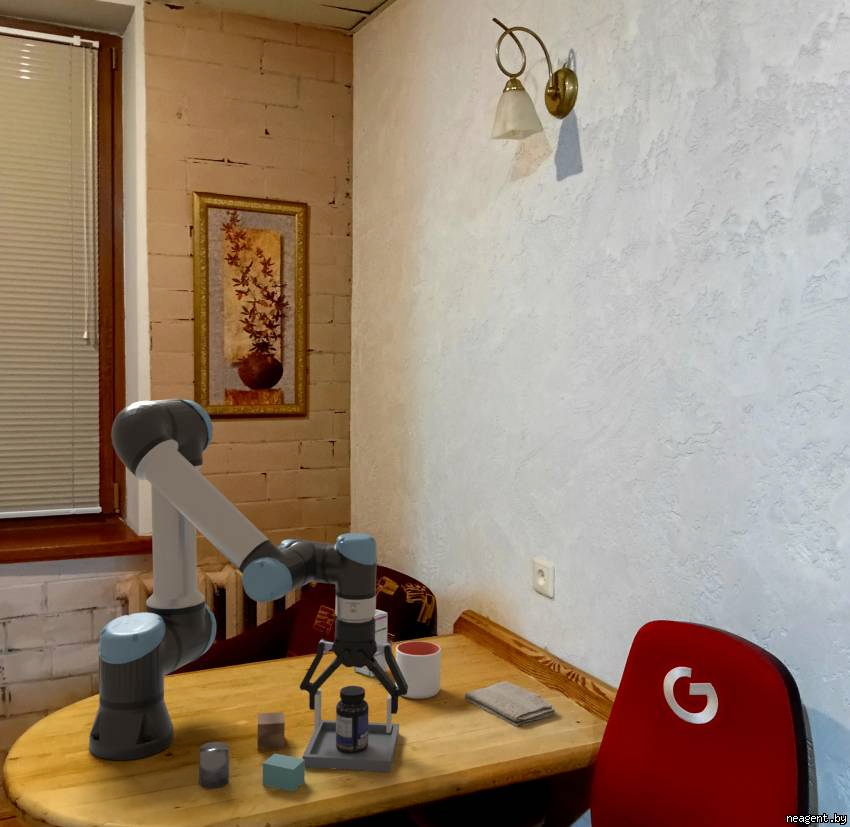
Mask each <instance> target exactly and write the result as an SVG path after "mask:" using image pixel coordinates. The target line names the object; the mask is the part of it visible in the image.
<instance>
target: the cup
mask: <svg viewBox="0 0 850 827" xmlns="http://www.w3.org/2000/svg"><path fill="white" fill-rule="evenodd" d="M441 654H442V648H441V646H439V645H438V644H436V643H433V642H429V641H422V640H421V641H419V640H418V641H417V640H413V641H405V642H401V643H399V644H398V645H397V646H396V647H395V660H396V662H397V664H398V666H399V668H400V670H401V672H402V674H403V677H404V679H405V681H406V683H407V685H408V691H407V694H406V695H401V696H402V697H405V698H408V699H414V700H425V699H428V698H432V697H434V696H436V695H438V693H439V692H440V688H441V665H442V664H441V659H442V655H441ZM394 684H395V685H396V686H397V684H396V682H395V681H394ZM397 687H398V686H397ZM424 698H425V699H424Z"/></svg>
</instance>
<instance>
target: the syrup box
mask: <svg viewBox="0 0 850 827" xmlns="http://www.w3.org/2000/svg"><path fill="white" fill-rule="evenodd" d="M374 619H375V641H376V644H377V645H378V644H386V643H387V642H388V612H386V611H384V610H380V609H376V614H375V616H374ZM374 658H375V659H376V660H377V663H378V664H379V665H380V667H381V668H382V669H383V670H384V671H385V673H387V672H388V671H387V670H388V665H387V663H386V660H385V656H382V655H381V653H380V652H379V651H377V652H376V653H375V655H374ZM354 672H355V673H358V674H360V675H363V676H365V677H368V678H373V676H374V677H375V675H374V674H373V673H372V672H371V671H369V669H368V668H367V667H366V666H364V667H362V668H357V667H354Z"/></svg>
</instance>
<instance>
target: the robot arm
mask: <svg viewBox="0 0 850 827" xmlns="http://www.w3.org/2000/svg"><path fill="white" fill-rule="evenodd" d="M213 436H214V427H213V422H212V420H211V417H210V415H209V414H208V412H207V410H205V409H204V408H203V407H202V405H201V404H199V403H197V402H195V401H193V400H189V399H180V398H179V399H178V398H171V399H158V400H140V401H135V402H133V403H130V404H129V405H126V406H125V407H124V408H123V409H122V410H120V412H119V413H118V414H117V416H116V417H115V418H114V421H113V424H112V428H111V443H112V446H113V449H114V451H115V453H116V455H117V457H118V459H119V460H120V461H121V462H122V463H123V465H124V466H125V467H126V469H128V471H129V472H130V473H131V474H132V475H134V477H136V478H137V479H138V480H139V481H148V482H149V483H150V486H151V488H150V489H151V490H150V491H151V529H152V530H151V533H152V534H151V536H152V538H151V539H152V543H151V544H152V578H153V580H152V581H153V582H152V583H153V587H152V588H153V593H152V594H151V595H150V596H149V597H148V598H147V599H146V601H145V612H133V613H131V614H124V615H121V616H119V617H115V618H114V619H112V620H110V621H109V622H107V623H106V624H105V625H104V627H102V629H101V631H100V634H99V644H98V647H97V648H98V650H97V653H98V681H99V682H98V684H99V685H98V690H99V691H98V692H99V693H98V698H99V699H98V700H99V701H98V704H99V706H98V709H97V712H96V714H95V718H94V720H93V724H92V727H91V729H90V732H89V738H88V740H89V743H88V746H89V748H88V749H89V751H90V752H91V754H92V755H94V756H96V757H98V758H101V759H105V760H111V761H129V760H137V759H141V758H146V757H149V756H150V757H151V756H152V755H156V754H158V753H161V752H162V751H164V750H165V749H167V748H168V747H169V746H170V745H171V744H172V743H173V741H174V724H173V721H172V718H171V716H170V713H169V710H168V706H167V704H166V702H165V676H167V675H168V674H170V673H172V672H174V671H176V670H178V669H180V668H181V667H183V666H185V665H187V664H191V663H193V662H194V661H196V660H198V659H199V658H200V657H201V656H203V655H204V654H205V653H206V652H207V651H209V649H210V648H211V647H212V645H213V643H214V641H215V638H216V635H217V621H216V618H215V615H214V613H213V612H212V611H211V608H210V607H209V606H208V605H207V604H206V596H205V595H204V594H203V593H202V592H201V591H199V589H198V572H197V571H198V565H197V563H198V560H197V559H198V558H197V551H198V550H197V548H198V547H197V530H198V531H199V532H200V533H201V535H203V536H204V538H206V539H207V540H208V541H209V543H211V544H212V545H213V546H214V548H216V549H217V550H218V551H219V552H220V553H221V554H222V555H223V556H224V557H225V559H227V560H228V562H230V563H231V564H232V565H233V566H234V567H235V568H236V569H237V570H238V571H239V572H240V573H241V574H242V575H241V582H242V586H243V588H244V592H245V593H246V595H247V596H248V597H249V598H250V599H251V600H253V601H255V602H258V603H268V602H272V601H275V600H279V599H281V598H283V597H284V596H286V595H288V594H289V593H291V592H292V591H294V590H297V589H299V588H300V587H303V586H305V585H308V584H309V583H313V582H314V583H323V584H329V585H330V584H331V585H332V584H333V585H335V609H334V610H335V612H334V613H335V616H336V618H335V620H334V624H335V625H334V641H333V642H331V641H327V640H326V639H324V638H321V639H320V641H319V642H318V644H317V650H316V655H315V656H314V658H313V660H312V661H311V664H310V666H309V667H308V670H307V671H306V673H305V674H304V675H305V676H304V678H303V679H302V681H301V683H300V684H299V690H300V691H305V692H308V694H309V695H308V697H309V698H308V703H309V705H308V708H309V710H311V711H312V710H313V711H314V722H313V723H314V724H313V725H314V726H313V728H314V730H315V729H319V726H320V724H321V720H322V691H323V690H322V689H320V688H321V687H322V686H323V685H324V683H325V682H326V681H327V680H328V679H329V678H330V677H331V676H332V674H334V673H335V671H336V670H337V669H338V668H340V666H341V665H343V666H345V668H353V667H357V668H362V667H364V666H366V667H367V668H368V669H369V671H371V672H372V673H373V674H374V675H375V676H374V677H375V678H376V680H377V681H378V682H379V683H380V685H382V687H383V688H384V689H385V690H386V692H387V693H388V694H387V697H386V723H387V726H386V733H390V732H391V728H392V724H393V715H394V714H395V715H397V713H398V710H399V697H400V696H402V695H406V694H407V691H408V685H407V683H406V681H405V679H404V677H403V674H402V672H401V670H400V668H399V666H398V664H397V662H396V657H395V656H394V654H393V646H392V645H393V644H392V642H391V641H387V643H386V644H378V645H377V644H376V641H375V619H374V616H375V614H376V610H377V609H376V608H377V607H376V606H377V571H378V570H377V569H378V568H377V567H378V565H377V563H378V556H377V540H376V539H375V537H374V536H372V535H371V534H368V533H362V532H361V533H360V532H355V533H354V532H349V533H348V532H347V533H343V534H340V535H338V536H337V538H336V543H333V542H332V543H331V542H322V541H315V540H306V539H303V538H302V539H301V538H296V539H292V538H291V539H290V538H289V539H288V538H287V539H284V540H282V541H281V542H280V544H279V546H276V545H275V544H274V543H273V542H272V540H270V539H269V538H267V536H266V535H265V534H264V533H263V532H262V531H261V530H260V529H258V528H257V527H256V525H255V524H253V522H252V521H250V519H248V518H247V517H246V516H245V514H243V513H242V512H241V511H240V510H239V509H238V508H237V507H236V506H235V505H234V504H233V503H232V502H231V501H230V500H229V499H228V498H227V497H226V496H225V495H224V494H223V493H222V492H220V490H219V489H218V488H217V487H216V486H215V485H214V484H213V483H211V482H210V481H209V480H208V479H207V478H206V477H205V476H204V475H203V474H202V473H201V472H200V469H201V468H202V467H203V466H204V464H203V463H204V461H203V460H204V458H203V454H204V451H206V450H207V449H208V447H209V446H210V445H211V443H212V442H213ZM330 650H331V651H332V652H333V653H334V655H335V656H336V657H335V658H333V661H332V662H331V663H330V664H329V665H328V666H327V667H326V668H325V670H324V671H322V673H321V674H320V675H319V676H318V677H317V678H316V679H315V681H314V682H311V680H312V678H313V676H314V673H315V672H316V670H317V668H318V666H319V665H320V663H321V661H322V659H323V656H325V654H326V655H327V654H329V651H330ZM377 651H379V652H380V653H381V655H382V656H385V660H386V663H387V668H388V669H389V671H390V673H391V675H392V677H393V679H394V681H393V680H392V679H391V677H390V676H389V675H388V674H387V672H385V671H384V670H383V669H382V668H381V667H380V665H379V664H378V663H377V660H376V659H375V658H374V655H375V653H376V652H377ZM395 682H396V684H397V686H398V687H397V686H396V685H395Z"/></svg>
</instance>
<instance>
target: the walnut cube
mask: <svg viewBox="0 0 850 827" xmlns="http://www.w3.org/2000/svg"><path fill="white" fill-rule="evenodd" d="M285 722H286V721H285V712H284V711H282V712H280V711H279V712H263V713H262V712H261V713H260V712H259V713H257V750H258V751H259V750H277V749H278V748H280V749H285V733H286V732H285V730H286V729H285V728H286V727H285Z"/></svg>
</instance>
